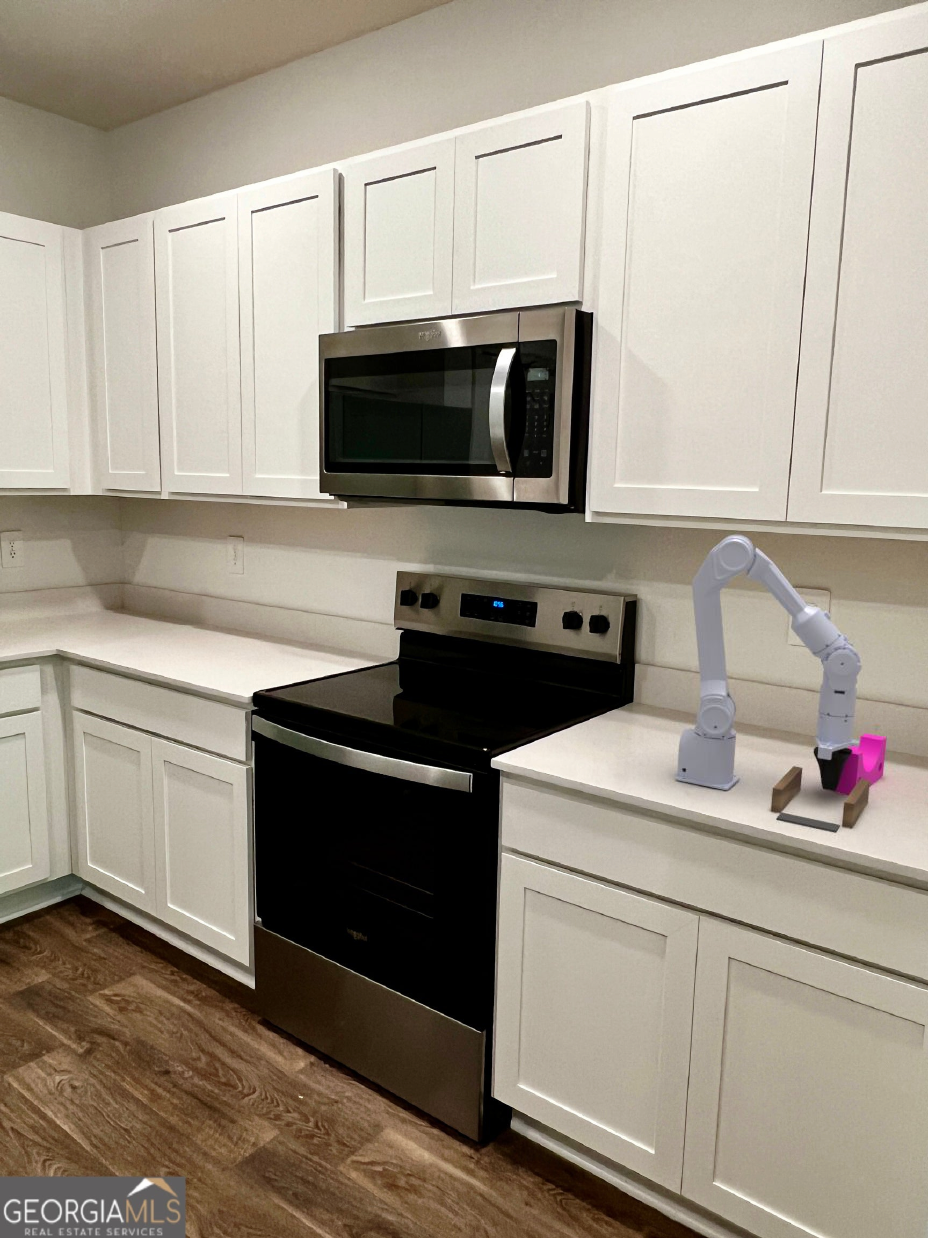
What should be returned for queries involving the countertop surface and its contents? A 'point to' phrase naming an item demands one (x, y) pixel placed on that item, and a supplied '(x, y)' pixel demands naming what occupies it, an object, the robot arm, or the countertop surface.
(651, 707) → the countertop surface
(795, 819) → the pit pad
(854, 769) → the toy block
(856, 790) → the channel
